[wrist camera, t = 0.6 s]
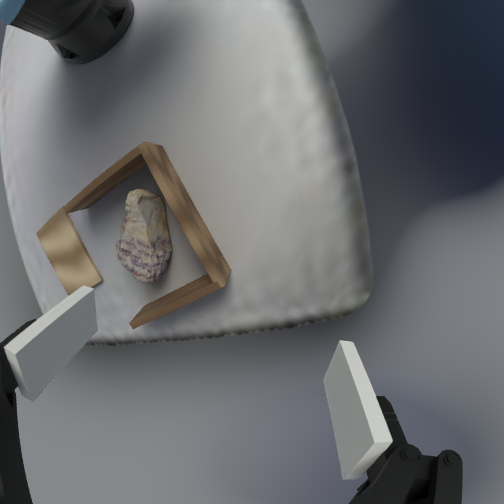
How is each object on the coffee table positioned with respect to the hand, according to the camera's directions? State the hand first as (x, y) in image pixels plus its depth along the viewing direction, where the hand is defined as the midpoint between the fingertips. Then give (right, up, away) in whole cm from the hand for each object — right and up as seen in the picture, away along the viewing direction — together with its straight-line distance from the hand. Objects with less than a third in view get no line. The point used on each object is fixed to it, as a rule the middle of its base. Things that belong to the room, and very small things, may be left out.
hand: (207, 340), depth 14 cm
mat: (-29, +4, +28) cm, 41 cm away
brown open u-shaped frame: (-12, +7, +26) cm, 30 cm away
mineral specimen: (-12, +7, +26) cm, 30 cm away
